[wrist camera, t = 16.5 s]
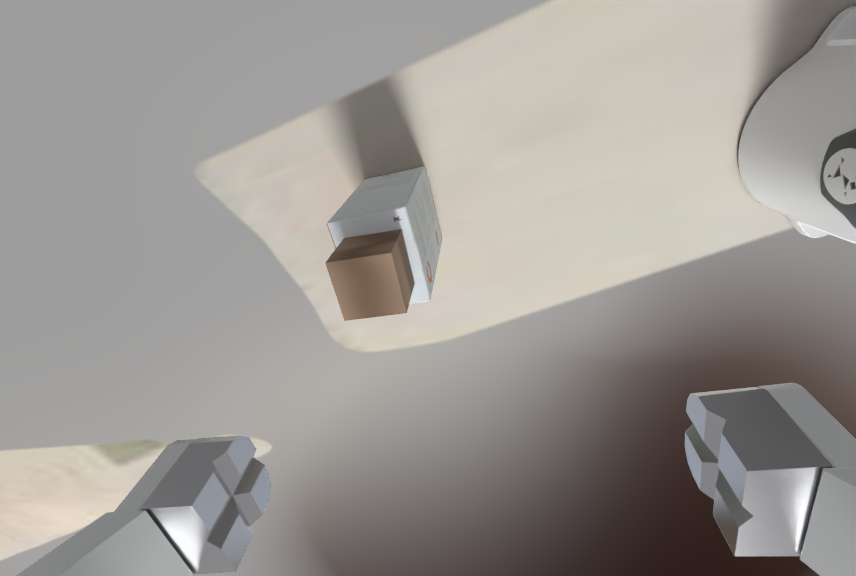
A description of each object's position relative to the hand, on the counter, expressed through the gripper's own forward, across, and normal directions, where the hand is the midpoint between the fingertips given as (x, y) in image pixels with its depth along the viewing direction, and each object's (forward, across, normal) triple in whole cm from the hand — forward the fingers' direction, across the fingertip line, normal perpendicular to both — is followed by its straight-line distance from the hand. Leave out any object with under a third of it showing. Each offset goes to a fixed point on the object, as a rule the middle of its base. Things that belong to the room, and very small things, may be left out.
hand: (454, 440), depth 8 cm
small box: (+37, +8, +6) cm, 39 cm away
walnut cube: (+24, +8, +6) cm, 26 cm away
